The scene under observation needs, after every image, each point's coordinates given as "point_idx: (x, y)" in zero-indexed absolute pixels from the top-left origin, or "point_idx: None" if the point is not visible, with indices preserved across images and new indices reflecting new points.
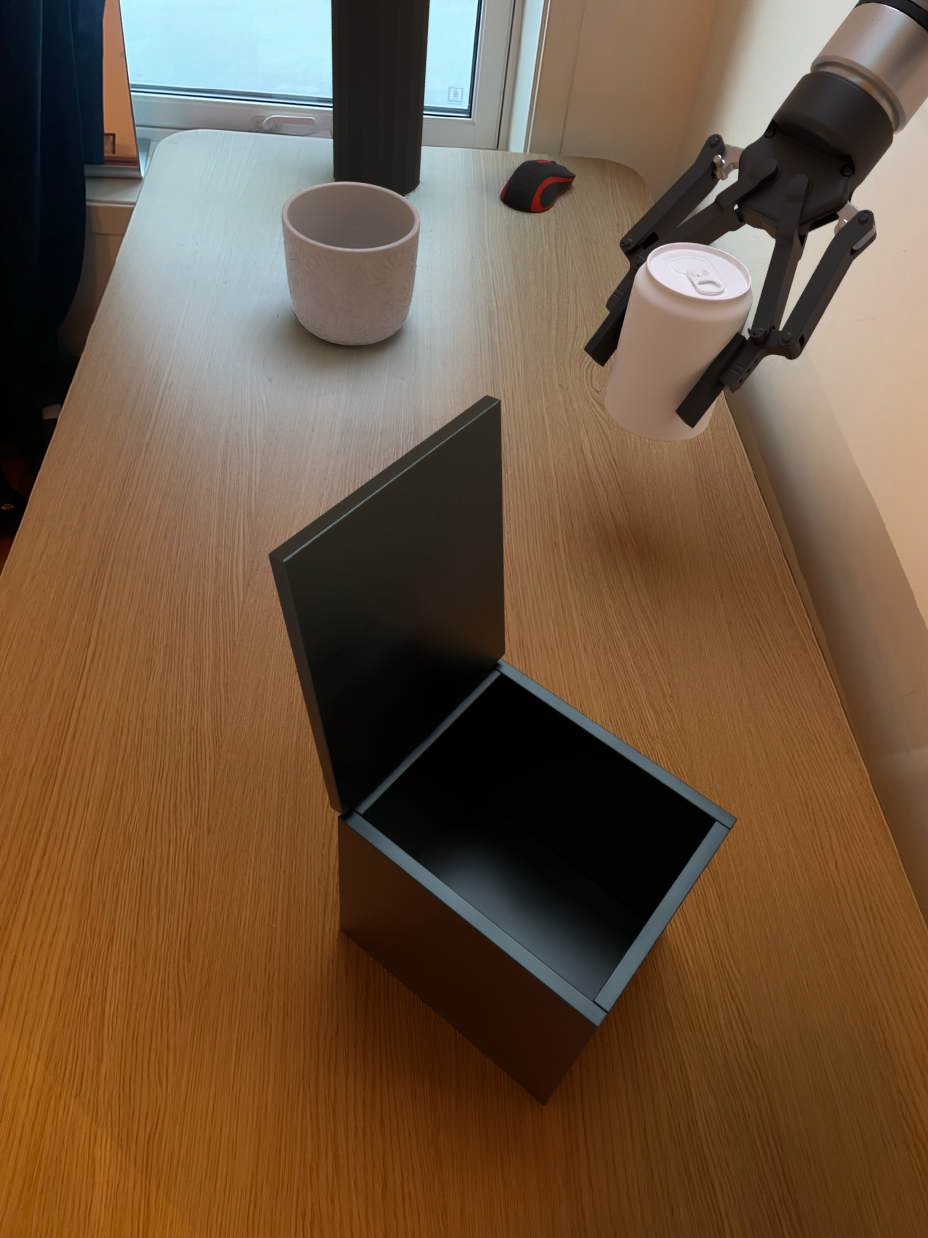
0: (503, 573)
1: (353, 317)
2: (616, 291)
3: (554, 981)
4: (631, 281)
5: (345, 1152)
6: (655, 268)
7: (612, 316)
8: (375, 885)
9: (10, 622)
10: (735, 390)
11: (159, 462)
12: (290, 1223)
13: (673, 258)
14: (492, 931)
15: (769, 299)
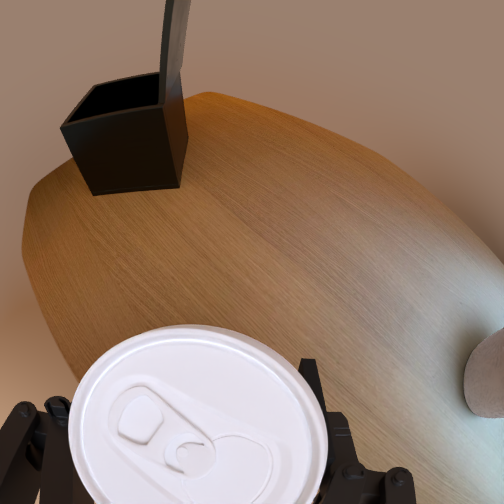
0: (160, 58)
1: (481, 352)
2: (346, 432)
3: (106, 82)
4: (338, 452)
5: None
6: (276, 396)
7: (315, 396)
8: None
9: (364, 146)
10: None
11: (425, 222)
12: None
13: (275, 473)
14: (124, 78)
15: (56, 466)
